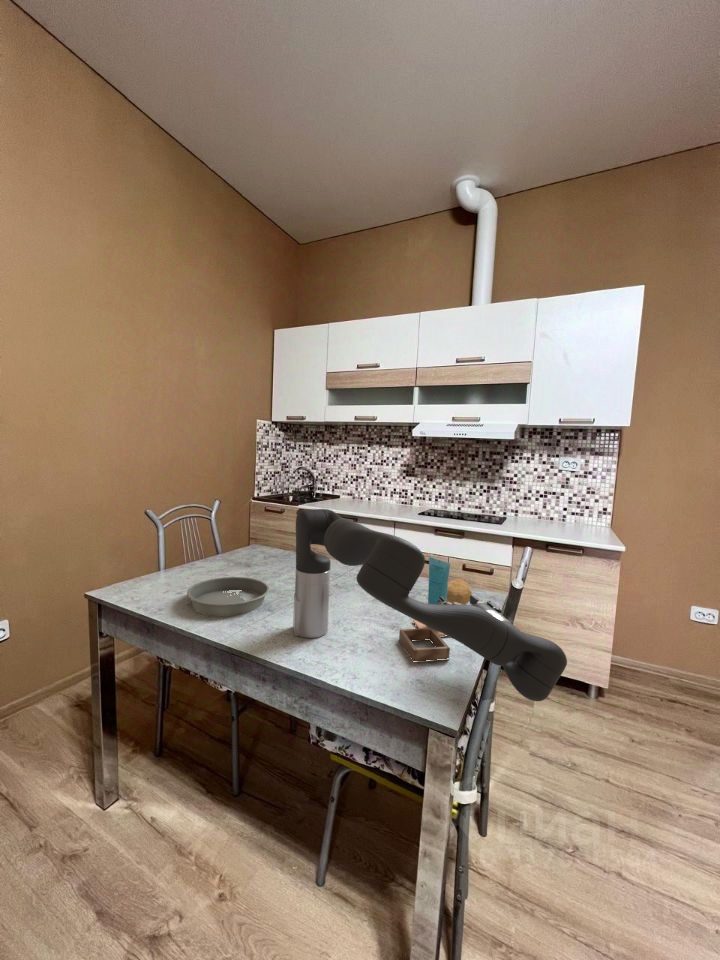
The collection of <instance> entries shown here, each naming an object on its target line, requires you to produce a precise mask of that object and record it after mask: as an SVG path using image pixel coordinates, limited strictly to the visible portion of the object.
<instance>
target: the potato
mask: <svg viewBox="0 0 720 960" xmlns="http://www.w3.org/2000/svg"><path fill="white" fill-rule="evenodd" d="M471 595H473V594H472V589H471V587H470V585H469V583H467V582H466V581H465V580H463V579H461V578H456V579H455V578H454V579H452V580H450V581H448V588H447V601H448V602H450V603H454V602H457V603H460V604H467V605H468V603H470V596H471Z"/></svg>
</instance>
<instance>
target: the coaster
mask: <svg viewBox="0 0 720 960" xmlns="http://www.w3.org/2000/svg"><path fill="white" fill-rule="evenodd" d="M413 622H414V623H415V625H416V626H417V627H418V628H417V627H416V626H415V625H414V626H415V627H416V628H417V629H420V628H429V627H428V626H426V625H424V624H422V623H420V622H418V621H416V620H414V619H412V623H413ZM414 623H413V624H414ZM434 631H435V632H436V633H437V634H438V635H439V636H445V634H443V633H441V632H439V631H437V630H434Z"/></svg>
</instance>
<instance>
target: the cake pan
mask: <svg viewBox="0 0 720 960" xmlns="http://www.w3.org/2000/svg"><path fill="white" fill-rule="evenodd" d="M229 590H242V592H248V591H250V593H253V594H256V595H257V597H254V598H251V599H249V600H245V599H244V598H243V597H242V596H241V595H240V596H238V595H239V594H238V595H237V594H236V592H232V593H227V591H229ZM223 591H224V593H223ZM225 591H226V593H225ZM269 592H270V586H269V585H268V584H267V582H265V581H262V580H260V579H257V578H254V577H244V576H226V577H225V576H223V577H216V578H210V579H206V580H203V581H200V582H197V583H196V584H194V585H191V586H190V587H189V588H188V590H187V591H186V596H187V597H188V599H189V600H191V605H192V606H191V607H192V608H193V610H195V611H196V610H197V611H198V613H200V612H201V613H200V614H202V613H204V614H203V615H206V614H207V615H208V616H213V615H214V617H215V616H217V617H218V616H219V617H225V616H226V617H229V616H237V615H242V614H247V613H249V612H252V611H254V610H257V609H259V608H260V607H261V606H262V605H263V603H265V602H264V601H265V598H266V596H267V595H268V594H269ZM234 593H235V595H234ZM230 594H231V595H232V596H230ZM227 596H228V597H227ZM240 597H241V598H240ZM197 611H196V612H197Z"/></svg>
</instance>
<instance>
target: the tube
mask: <svg viewBox="0 0 720 960" xmlns="http://www.w3.org/2000/svg"><path fill="white" fill-rule="evenodd" d="M450 567H451V562H449V561H444V560H440V559H438V558H434V557H431V556H429V558H428V591H427V592H428V593H427V597H428V598H427V603H428V604H438V598H439V597H440V596H443V597H444V598H445V599H446V600H447V588H448V582H449V578H450V577H449V576H450V575H449V574H450ZM429 628H430V627H429ZM434 630H435V629H434Z"/></svg>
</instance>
